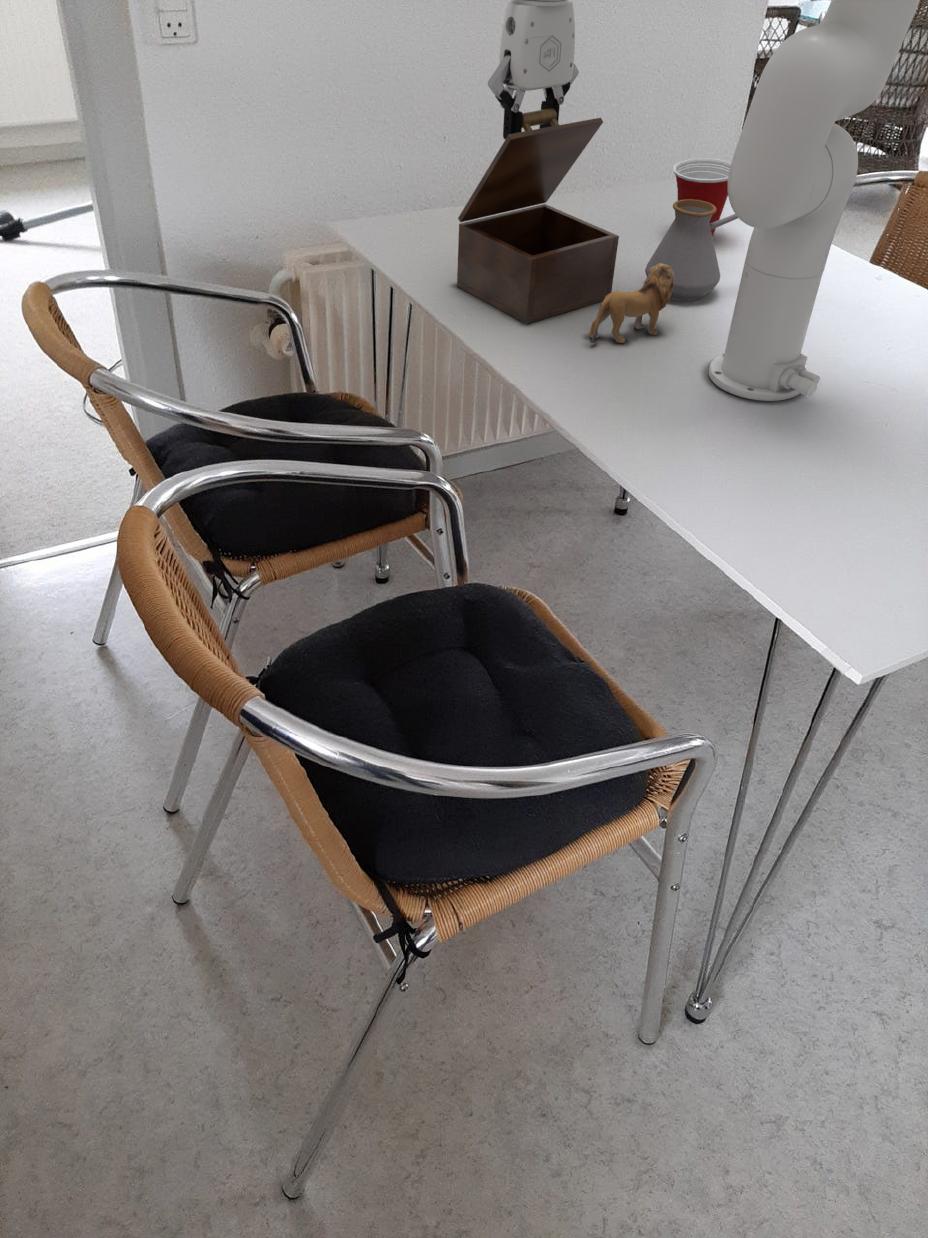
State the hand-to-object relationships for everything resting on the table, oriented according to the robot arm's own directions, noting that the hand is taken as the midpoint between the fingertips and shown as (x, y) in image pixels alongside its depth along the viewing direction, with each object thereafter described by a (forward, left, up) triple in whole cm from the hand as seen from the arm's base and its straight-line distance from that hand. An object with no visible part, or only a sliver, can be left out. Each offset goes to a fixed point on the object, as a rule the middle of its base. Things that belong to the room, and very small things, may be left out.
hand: (530, 135), depth 142 cm
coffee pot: (-18, -24, -22) cm, 37 cm away
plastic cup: (-1, -39, -22) cm, 45 cm away
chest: (-3, 0, -22) cm, 22 cm away
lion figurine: (-22, -2, -22) cm, 31 cm away
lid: (-1, 0, -5) cm, 5 cm away
